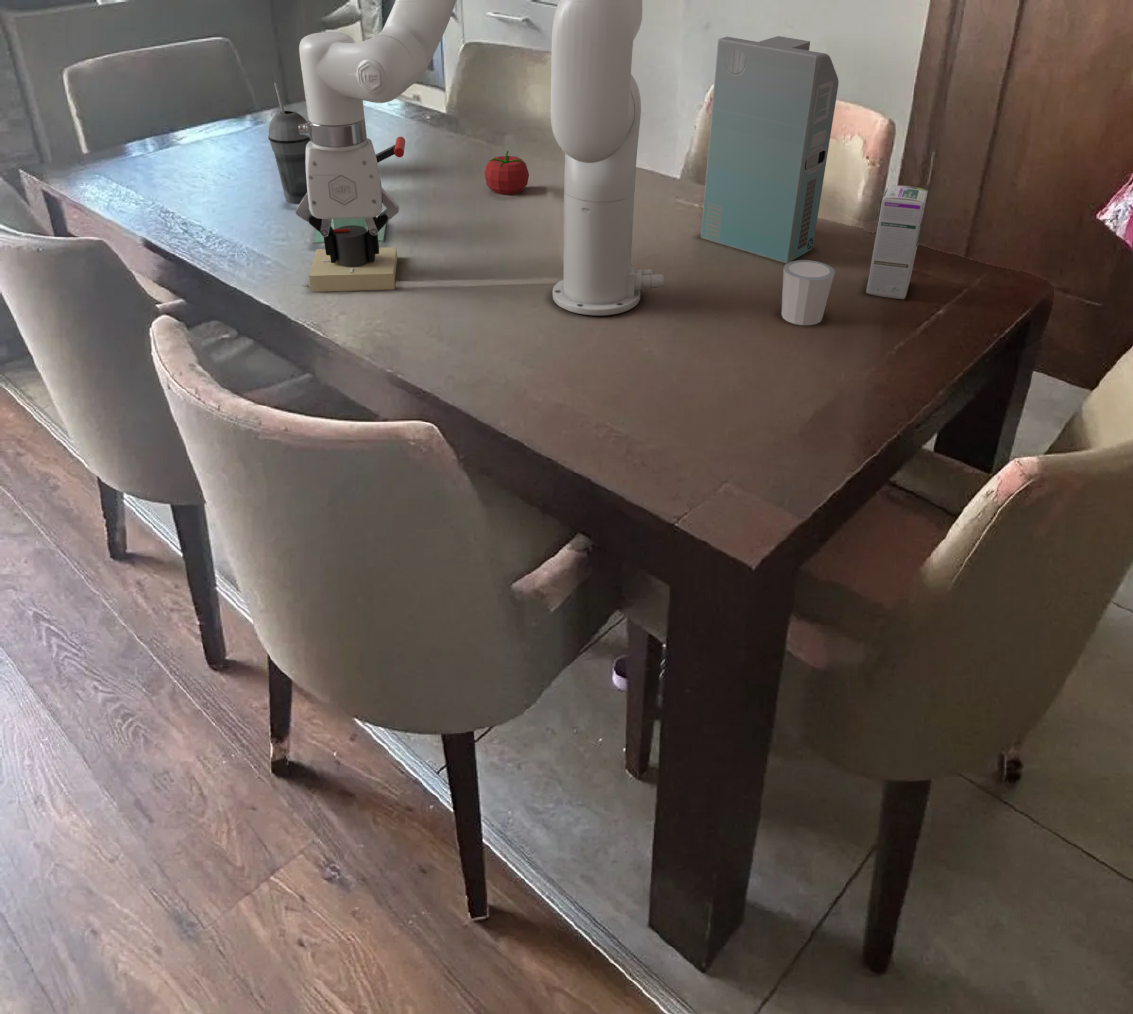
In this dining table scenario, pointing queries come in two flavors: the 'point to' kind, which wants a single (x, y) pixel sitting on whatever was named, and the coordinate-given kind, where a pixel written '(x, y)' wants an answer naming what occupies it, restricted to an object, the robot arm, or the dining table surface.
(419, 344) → the dining table surface
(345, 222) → the bracket
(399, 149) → the lever
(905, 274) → the syrup box
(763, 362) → the dining table surface
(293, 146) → the beverage cup
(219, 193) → the dining table surface
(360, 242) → the knob
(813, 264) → the shot glass
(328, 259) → the panel
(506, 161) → the tomato
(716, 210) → the device
